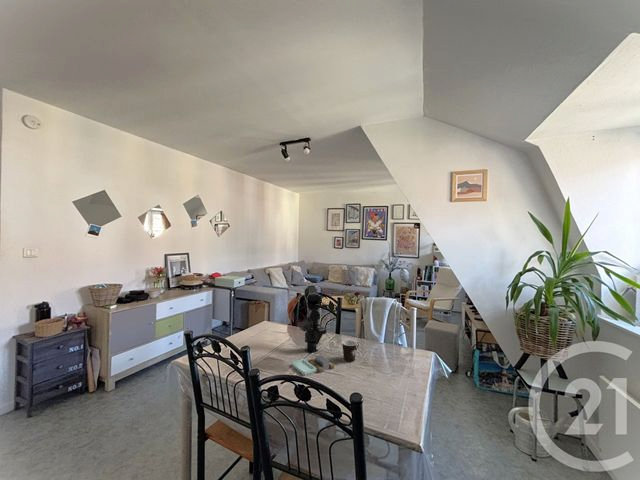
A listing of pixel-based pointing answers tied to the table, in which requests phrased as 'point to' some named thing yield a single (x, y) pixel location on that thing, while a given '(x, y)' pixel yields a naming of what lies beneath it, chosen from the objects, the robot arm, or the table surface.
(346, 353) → the coffee mug
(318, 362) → the grey rectangular block
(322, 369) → the socket
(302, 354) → the table surface
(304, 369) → the pale teal tray
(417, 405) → the table surface
